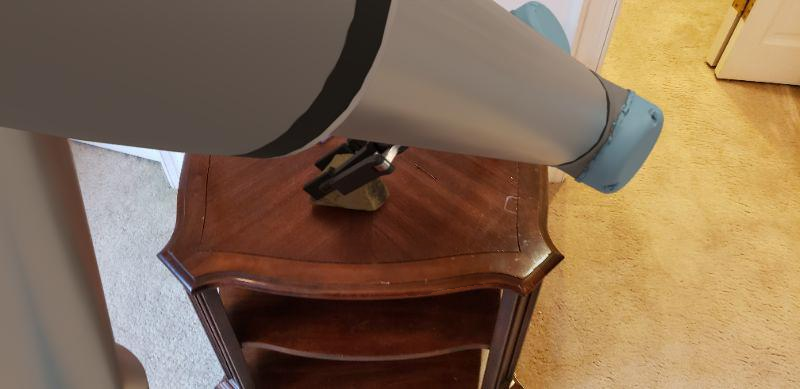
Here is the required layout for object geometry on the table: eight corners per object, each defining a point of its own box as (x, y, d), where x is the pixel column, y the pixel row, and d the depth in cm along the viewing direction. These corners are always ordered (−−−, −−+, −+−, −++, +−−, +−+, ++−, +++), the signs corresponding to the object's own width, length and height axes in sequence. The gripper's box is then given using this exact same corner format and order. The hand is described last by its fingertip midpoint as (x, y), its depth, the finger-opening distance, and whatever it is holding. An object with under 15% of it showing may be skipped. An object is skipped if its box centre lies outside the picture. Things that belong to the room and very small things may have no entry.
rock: (288, 200, 76) (345, 221, 72) (302, 140, 76) (361, 157, 71) (334, 202, 86) (387, 220, 81) (346, 148, 85) (401, 164, 80)
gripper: (446, 176, 59) (316, 243, 73) (470, 82, 70) (353, 156, 85) (397, 131, 56) (272, 210, 70) (430, 40, 67) (316, 124, 82)
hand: (316, 180), depth 78 cm, fingers closed on rock, 4 cm apart
